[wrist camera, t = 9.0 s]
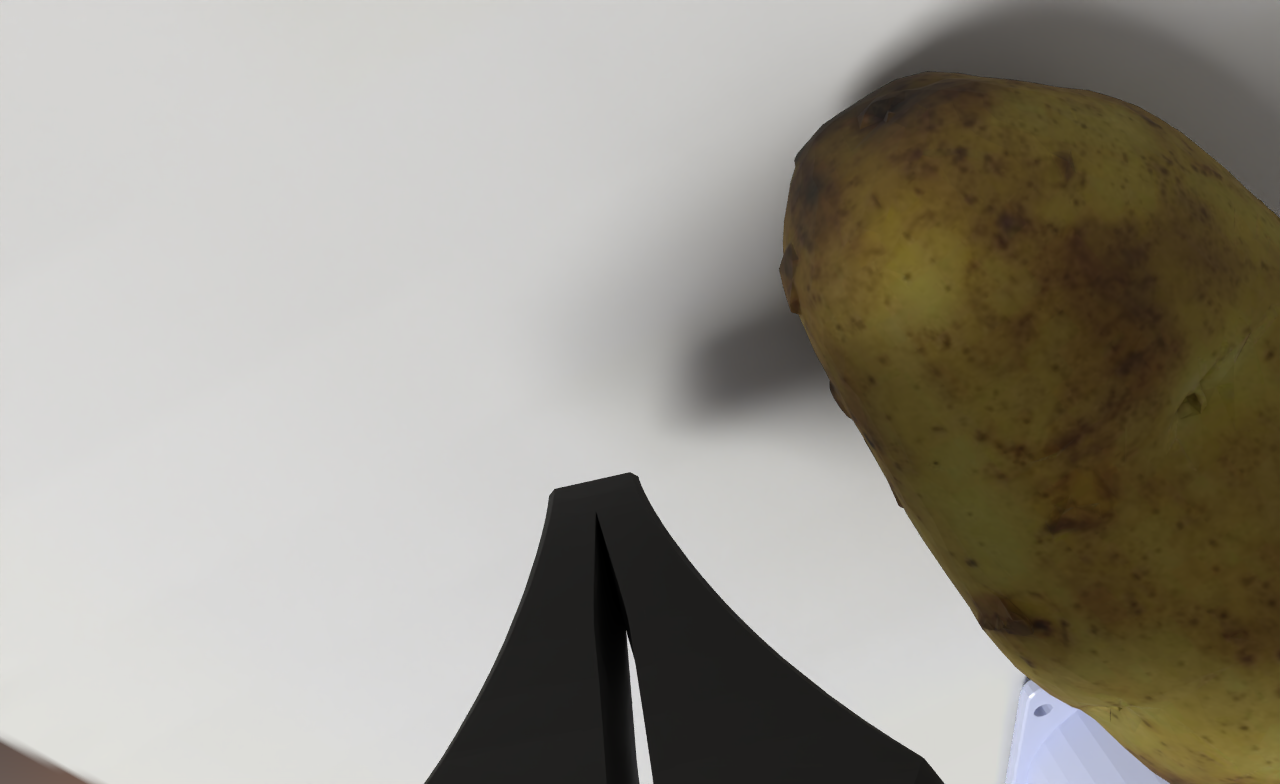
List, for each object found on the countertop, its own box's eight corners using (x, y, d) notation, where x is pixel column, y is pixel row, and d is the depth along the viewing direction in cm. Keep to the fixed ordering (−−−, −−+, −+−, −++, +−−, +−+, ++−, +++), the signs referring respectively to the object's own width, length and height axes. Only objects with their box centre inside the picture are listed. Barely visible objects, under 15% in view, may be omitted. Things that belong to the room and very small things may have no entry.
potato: (1208, -143, 12) (2167, -179, 5) (1236, 459, 19) (1652, 785, 12) (692, 132, 13) (913, 413, 6) (902, 607, 20) (1113, 983, 13)
